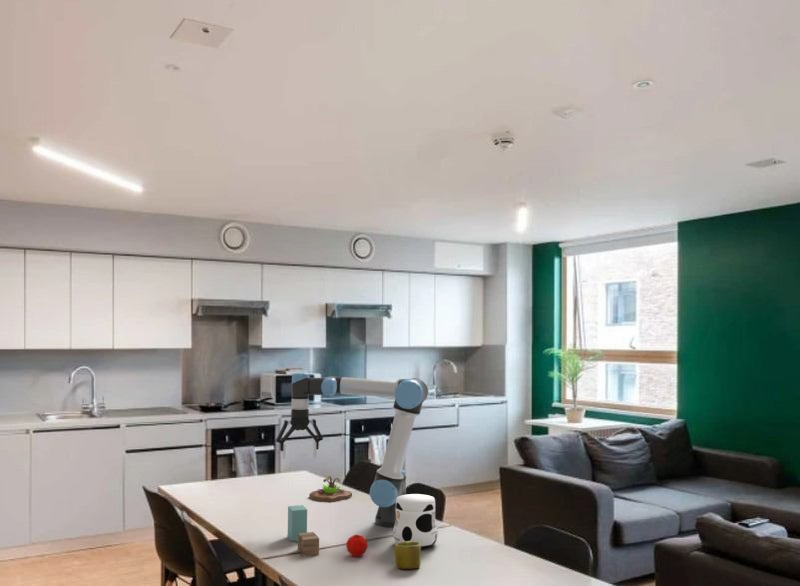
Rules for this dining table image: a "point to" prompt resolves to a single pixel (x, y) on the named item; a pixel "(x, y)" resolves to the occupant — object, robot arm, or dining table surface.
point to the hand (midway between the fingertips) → (299, 457)
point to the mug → (407, 555)
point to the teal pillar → (296, 521)
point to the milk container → (415, 519)
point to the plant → (330, 492)
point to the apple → (356, 545)
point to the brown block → (308, 543)
